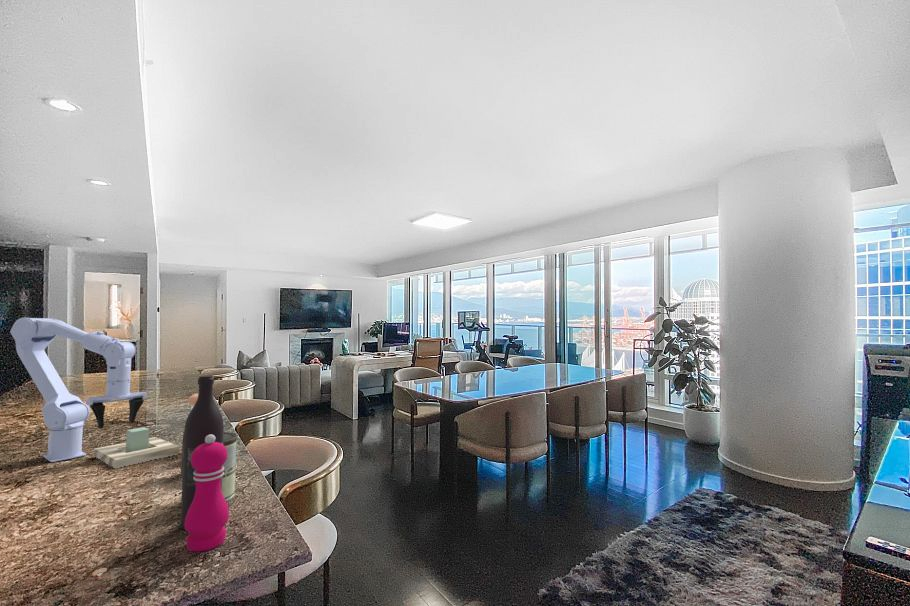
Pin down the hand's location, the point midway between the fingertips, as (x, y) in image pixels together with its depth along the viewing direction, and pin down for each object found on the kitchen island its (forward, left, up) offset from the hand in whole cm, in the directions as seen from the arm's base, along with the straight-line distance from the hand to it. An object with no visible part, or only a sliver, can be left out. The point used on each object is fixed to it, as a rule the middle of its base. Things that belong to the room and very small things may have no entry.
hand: (116, 425), depth 127 cm
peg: (+5, +4, -10) cm, 11 cm away
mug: (+36, +7, -10) cm, 38 cm away
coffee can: (+56, +2, -10) cm, 57 cm away
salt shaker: (+16, +17, -10) cm, 25 cm away
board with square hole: (+5, +4, -9) cm, 11 cm away
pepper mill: (+76, -8, -10) cm, 77 cm away
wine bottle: (+67, -5, -10) cm, 68 cm away
